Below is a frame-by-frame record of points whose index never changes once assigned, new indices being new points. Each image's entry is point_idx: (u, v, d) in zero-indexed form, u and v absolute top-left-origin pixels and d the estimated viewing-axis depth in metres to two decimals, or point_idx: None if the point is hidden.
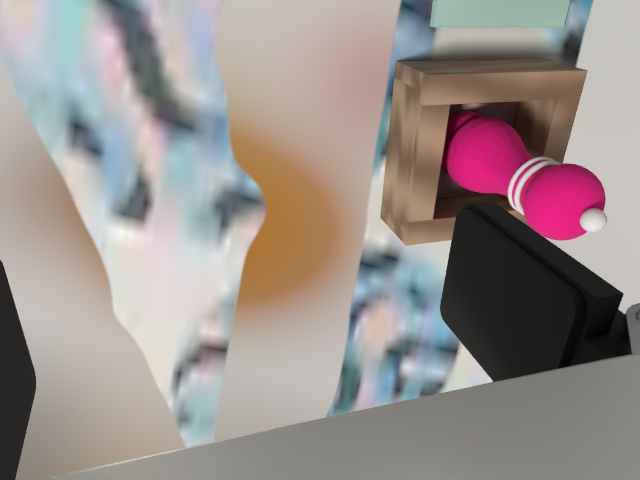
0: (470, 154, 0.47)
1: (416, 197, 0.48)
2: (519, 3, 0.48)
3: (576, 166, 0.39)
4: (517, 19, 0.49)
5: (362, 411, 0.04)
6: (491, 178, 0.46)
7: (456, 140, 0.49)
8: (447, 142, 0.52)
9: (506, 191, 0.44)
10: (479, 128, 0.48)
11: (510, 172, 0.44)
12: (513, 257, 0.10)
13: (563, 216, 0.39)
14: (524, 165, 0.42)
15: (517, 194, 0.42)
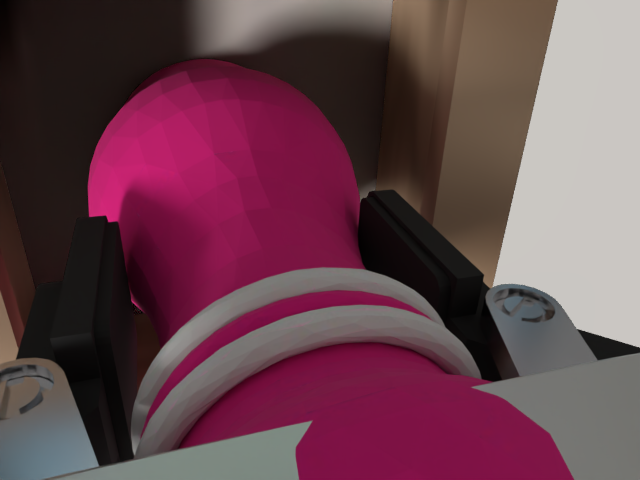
0: (107, 213, 0.12)
1: None
2: None
3: (485, 465, 0.04)
4: None
5: None
6: (156, 332, 0.10)
7: (95, 154, 0.13)
8: None
9: None
10: (154, 110, 0.12)
11: None
12: (398, 242, 0.10)
13: None
14: (191, 329, 0.07)
15: None
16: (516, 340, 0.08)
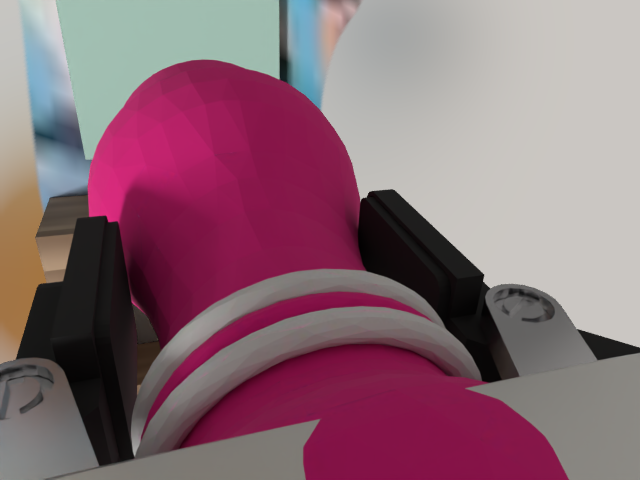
0: (108, 214, 0.12)
1: None
2: None
3: (487, 467, 0.04)
4: None
5: None
6: None
7: (96, 154, 0.13)
8: None
9: None
10: (153, 110, 0.12)
11: None
12: (398, 242, 0.10)
13: None
14: (191, 330, 0.07)
15: None
16: (516, 340, 0.08)
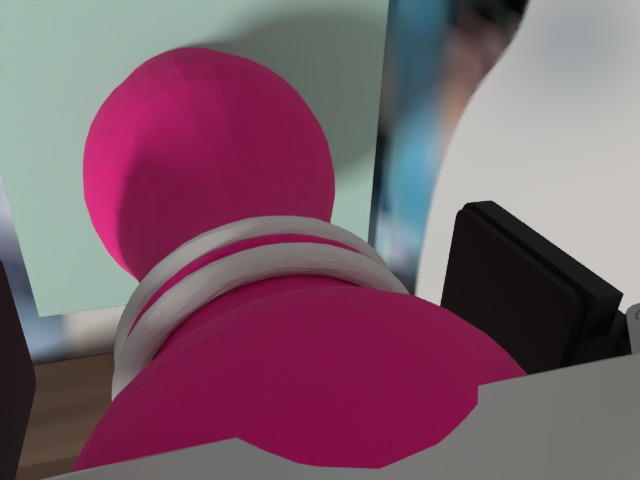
0: (100, 184, 0.13)
1: None
2: None
3: (373, 334, 0.05)
4: None
5: None
6: None
7: (89, 132, 0.14)
8: None
9: None
10: (141, 91, 0.13)
11: None
12: (513, 257, 0.10)
13: None
14: (163, 266, 0.08)
15: None
16: None
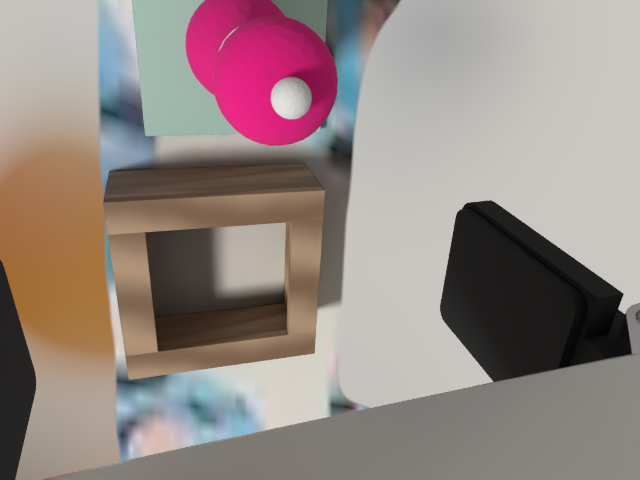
0: (198, 36, 0.32)
1: (128, 330, 0.41)
2: None
3: (283, 16, 0.24)
4: None
5: (362, 411, 0.04)
6: None
7: (191, 20, 0.33)
8: None
9: None
10: (215, 0, 0.32)
11: None
12: (513, 257, 0.10)
13: (248, 94, 0.23)
14: (233, 31, 0.27)
15: None
16: None
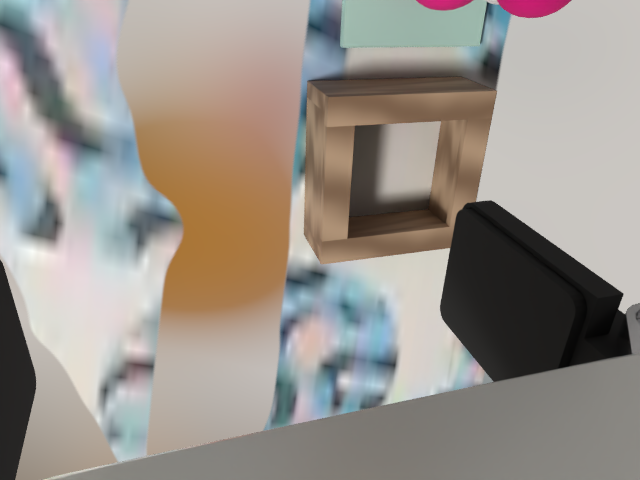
0: None
1: (328, 217, 0.48)
2: (430, 23, 0.48)
3: None
4: (430, 39, 0.49)
5: (362, 411, 0.04)
6: None
7: None
8: None
9: None
10: None
11: None
12: (513, 257, 0.10)
13: None
14: None
15: None
16: None
